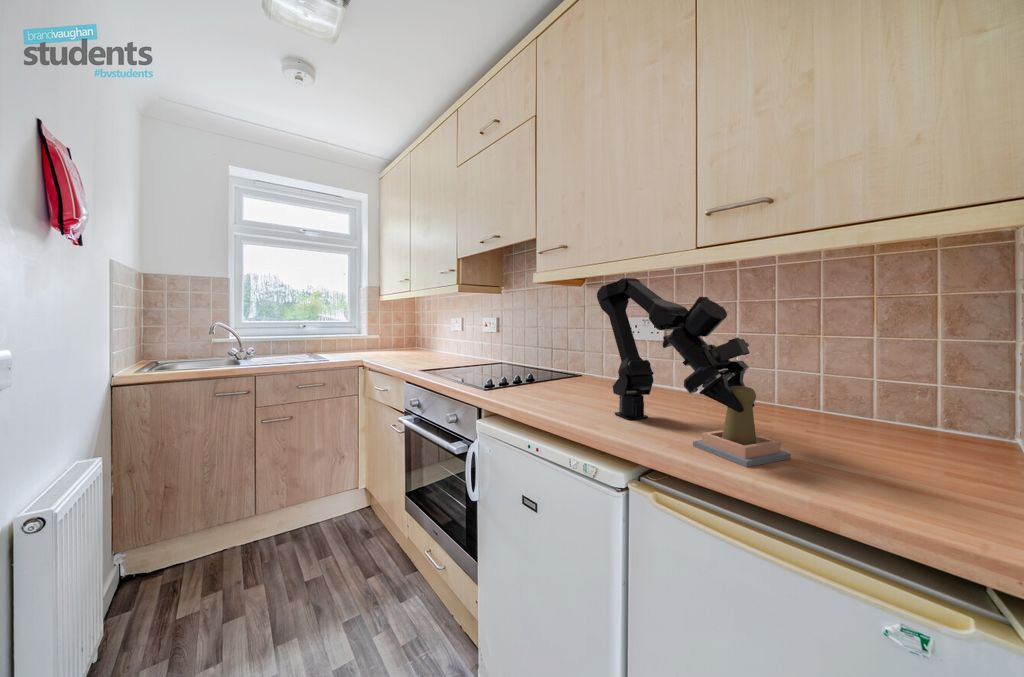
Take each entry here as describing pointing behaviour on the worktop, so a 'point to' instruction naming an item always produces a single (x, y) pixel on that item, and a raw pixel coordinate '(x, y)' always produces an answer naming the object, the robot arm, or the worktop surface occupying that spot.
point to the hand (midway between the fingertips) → (747, 409)
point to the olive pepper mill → (741, 418)
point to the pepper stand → (742, 449)
